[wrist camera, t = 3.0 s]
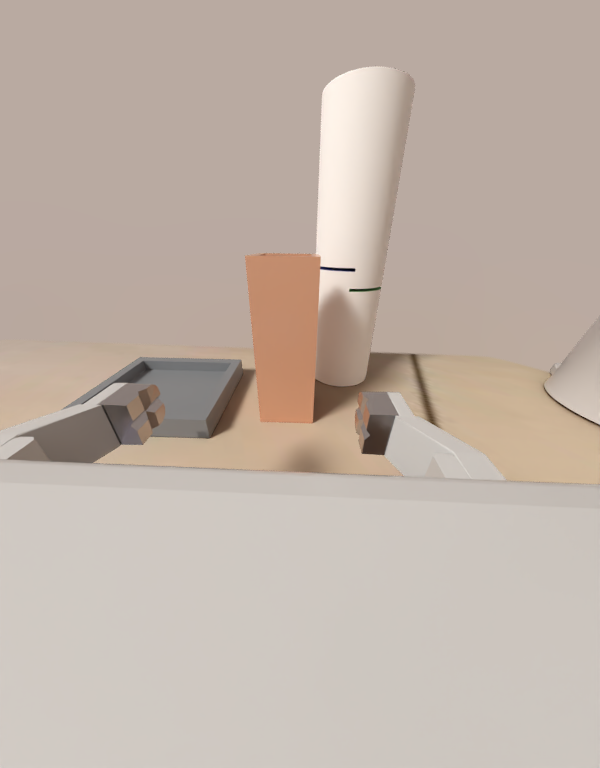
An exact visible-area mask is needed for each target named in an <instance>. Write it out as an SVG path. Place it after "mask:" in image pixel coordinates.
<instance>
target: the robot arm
mask: <svg viewBox="0 0 600 768" xmlns="http://www.w3.org/2000/svg"><path fill="white" fill-rule="evenodd" d="M550 372H551V374H552V375H551V376H550V377H549V378H548V379H547V380H546V381H545V383H544V387H545V389H546V391H547V392H548V393H549V394H550V395H551V396H552V397H553V398H554V399H555V400H557V401H558V402H559V403H561V404H562V405H564V406H565V407H567V408H569V409H570V410H572V411H574V412H575V413H577V414H579V415H581V416H583V417H585V418H587V419H589V420H591V421H593V422H595V423H597V424H600V316H599V317H598V318H597V319H596V321H595V322H594V323H593V324H592V326H591V327H590V328H589V329H588V331H587V332H586V333H585V334H584V335H583V337H582V338H581V339H580V341H579V342H578V343H577V344H576V346H575V347H574V348H573V349H572V351H571V352H570V353H569V355H568V356H567V357H566V358H565V360H564V361H563V362H562V363H555V364H554V365H553V367H552V368H551V369H550ZM159 396H160V391H159V389H158V387H157V386H156V385H154V384H137V383H113V384H112V385H110V386H109V387H108V388H106V389H105V390H103V391H102V392H100V393H99V394H97V395H96V396H94V397H93V398H92V399H90V400H89V401H87V402H86V403H84V404H78V405H75V406H72V407H69V408H66V409H63V410H60V411H57V412H54V413H51V414H48V415H45V416H42V417H39V418H36V419H33V420H30V421H27V422H24V423H21V424H18V425H15V426H12V427H9V428H6V429H4V430H1V431H0V768H600V484H578V483H553V482H529V481H507V480H506V479H505V478H504V476H503V475H502V474H501V473H500V472H499V471H498V469H497V468H496V467H495V466H494V465H493V463H492V462H491V461H490V460H489V459H488V457H487V456H486V455H485V454H484V453H482V452H480V451H478V450H477V449H475V448H473V447H471V446H470V445H468V444H466V443H464V442H463V441H461V440H459V439H457V438H455V437H454V436H452V435H450V434H448V433H447V432H445V431H443V430H441V429H440V428H438V427H436V426H434V425H433V424H431V423H429V422H427V421H426V420H424V419H422V418H420V417H415V416H414V414H413V413H412V411H411V410H410V408H409V406H408V405H407V403H406V402H405V400H404V398H403V397H402V395H401V394H400V393H399V392H360V393H359V395H358V404H359V408H358V409H357V410H356V414H355V429H356V433H357V434H358V435H359V445H360V449H361V453H362V454H375V455H385V457H386V458H387V459H388V460H389V461H390V462H391V463H392V464H393V465H394V466H395V467H396V468H397V469H398V470H399V471H400V472H401V473H402V474H403V475H404V476H386V475H362V474H338V473H314V472H291V471H267V470H243V469H218V468H195V467H171V466H148V465H124V464H100V463H93V462H95V461H97V460H98V459H100V458H101V457H103V456H105V455H106V454H108V453H109V452H111V451H113V450H114V449H116V448H117V447H119V446H120V445H143V444H144V443H145V442H146V441H147V439H148V438H149V437H150V436H151V435H152V433H153V430H152V429H153V428H155V427H157V426H159V425H160V424H161V423H162V421H163V419H164V416H165V406H164V403H163V402H162V401H161V400H160V399H158V398H159Z"/></svg>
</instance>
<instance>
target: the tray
mask: <svg viewBox="0 0 600 768" xmlns="http://www.w3.org/2000/svg"><path fill="white" fill-rule="evenodd" d="M242 375H243V370H242V362H241V360H231V359H190V358H148V357H140V358H138V359H137V360H135V361H134V362H132V363H131V364H129V365H128V366H126V367H125V368H123V369H122V370H120V371H119V372H117V373H116V374H114V375H113V376H111V377H110V378H108V379H107V380H105V381H104V382H102V383H101V384H99V385H98V386H96V387H95V388H93V389H92V390H90V391H89V392H87V393H86V394H84V395H83V396H81V397H80V398H78V399H77V400H75V401H74V402H72V403H71V404H69V405H68V406H66V407H65V408H63V409H66V408H69V407H72V406H75V405H78V404H84V403H86V402H87V401H89V400H90V399H92V398H93V397H94V396H96V395H97V394H99V393H100V392H102V391H103V390H105V389H106V388H108V387H109V386H110V385H112V384H113V383H137V384H154V385H156V386H157V387H158V389H159V391H160V396H159V398H158V399H160V400H161V401H162V402H163V403H164V406H165V416H164V419H163V421H162V423H161V424H160V425H159V426H157V427H155V428H153V429H152V430H153V433H152V435H151V436H156V437H187V438H210V437H211V435H212V433H213V431H214V429H215V427H216V425H217V423H218V421H219V419H220V417H221V416H222V414H223V412H224V410H225V408H226V406H227V404H228V402H229V400H230V398H231V396H232V394H233V392H234V390H235V388H236V386H237V384H238V382H239V381H240V379H241V377H242ZM63 409H62V410H63Z"/></svg>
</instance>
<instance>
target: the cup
mask: <svg viewBox="0 0 600 768" xmlns="http://www.w3.org/2000/svg"><path fill="white" fill-rule="evenodd" d="M245 260H246V270H247V281H248V291H249V302H250V313H251V324H252V334H253V345H254V356H255V367H256V377H257V388H258V399H259V410H260V420H261V422H293V423H313V410H314V389H315V368H316V347H317V326H318V305H319V284H320V263H321V256H320V255H319V254H280V253H276V254H275V253H273V254H272V253H258V254H252V255H246V256H245Z"/></svg>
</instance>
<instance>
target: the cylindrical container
mask: <svg viewBox="0 0 600 768" xmlns="http://www.w3.org/2000/svg"><path fill="white" fill-rule="evenodd" d="M414 91H415V83H414V80H413V78H412V77H411V76H410V75H409V74H407V73H405V72H404V71H401V70H399V69H396V68H390V67H365V68H360V69H355V70H352V71H349V72H346V73H344V74H342V75H340V76H338V77H336V78H335V79H333V80H332V81H331V82H330V83H329V84H328V85H327V86H326V87H325V89H324V91H323V94H322V110H321V136H320V162H319V187H318V188H319V189H318V215H317V241H316V254H319V255H320V256H321V263H320V284H319V305H318V326H317V347H316V368H315V379H317V380H318V381H320V382H322V383H325V384H328V385H332V386H353V385H357V384H359V383H361V382H363V381H364V380H365V378H366V373H367V367H368V361H369V356H370V349H371V344H372V338H373V332H374V326H375V320H376V313H377V308H378V302H379V297H380V291H381V287H380V286H381V284H382V279H383V273H384V266H385V261H386V255H387V250H388V244H389V238H390V232H391V226H392V220H393V214H394V208H395V202H396V196H397V191H398V184H399V178H400V173H401V167H402V161H403V155H404V149H405V143H406V138H407V132H408V126H409V120H410V114H411V108H412V102H413V97H414Z"/></svg>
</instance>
